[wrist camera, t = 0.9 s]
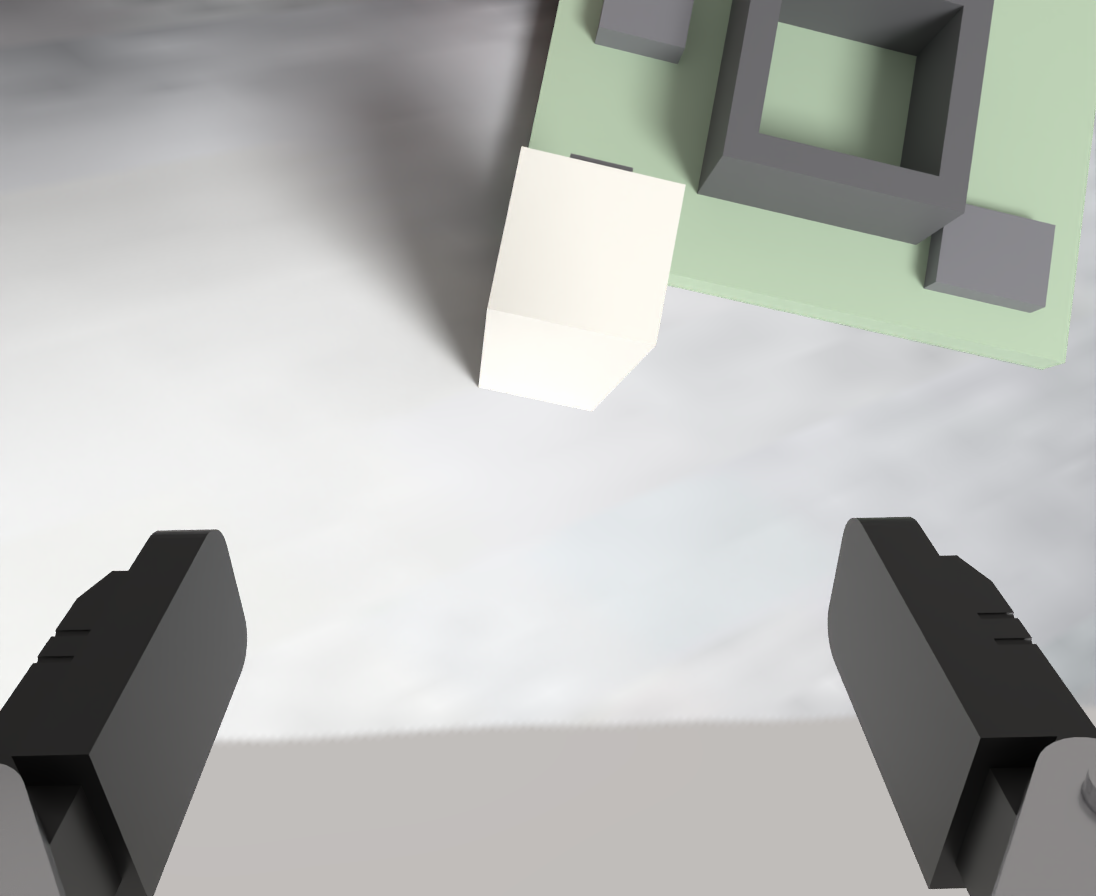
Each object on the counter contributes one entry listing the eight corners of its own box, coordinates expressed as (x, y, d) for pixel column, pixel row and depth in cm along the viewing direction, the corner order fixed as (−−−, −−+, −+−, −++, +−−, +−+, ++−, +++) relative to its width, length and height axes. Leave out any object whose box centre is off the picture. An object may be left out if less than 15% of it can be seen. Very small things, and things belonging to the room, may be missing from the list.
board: (507, 249, 31) (514, 202, 26) (583, -108, 32) (600, -205, 28) (1042, 369, 32) (1129, 343, 28) (1085, 21, 34) (1173, -52, 30)
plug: (478, 387, 30) (487, 307, 20) (505, 260, 31) (526, 122, 21) (592, 411, 30) (655, 345, 20) (616, 285, 31) (690, 161, 21)
